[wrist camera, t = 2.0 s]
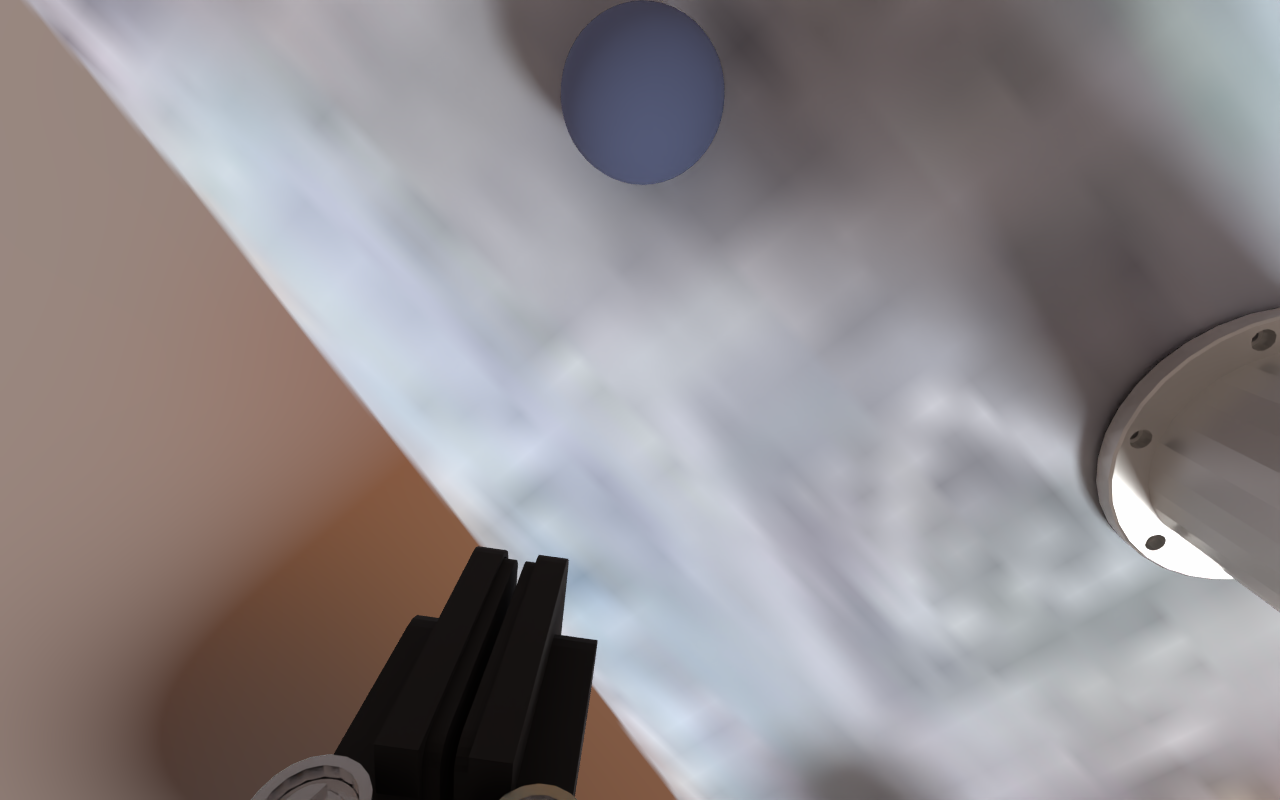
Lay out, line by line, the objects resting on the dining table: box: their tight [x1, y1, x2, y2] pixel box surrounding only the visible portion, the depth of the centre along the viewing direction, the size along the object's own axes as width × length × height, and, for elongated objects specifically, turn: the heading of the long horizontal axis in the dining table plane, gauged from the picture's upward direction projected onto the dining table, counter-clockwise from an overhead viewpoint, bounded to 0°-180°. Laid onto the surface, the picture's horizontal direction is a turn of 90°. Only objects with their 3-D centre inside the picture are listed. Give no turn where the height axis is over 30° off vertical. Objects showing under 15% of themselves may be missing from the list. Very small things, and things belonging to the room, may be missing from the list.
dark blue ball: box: [561, 1, 724, 185], centre depth 20 cm, size 6×6×6 cm
